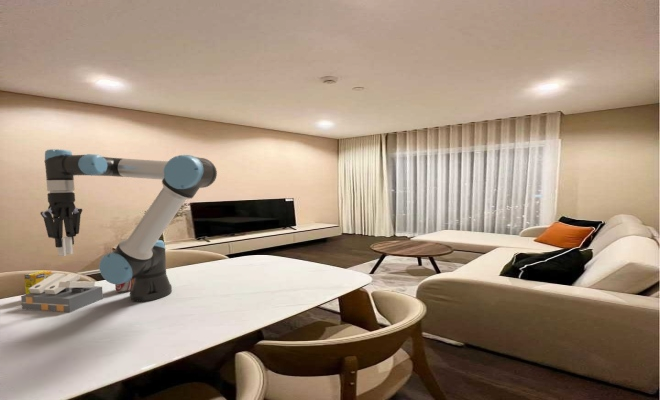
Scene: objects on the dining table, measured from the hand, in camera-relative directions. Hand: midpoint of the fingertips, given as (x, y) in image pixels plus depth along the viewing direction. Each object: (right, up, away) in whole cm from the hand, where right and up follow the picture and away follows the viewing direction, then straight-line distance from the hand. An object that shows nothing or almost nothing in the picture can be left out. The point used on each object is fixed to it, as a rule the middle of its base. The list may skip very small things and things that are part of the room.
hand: (65, 254), depth 112 cm
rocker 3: (+1, -12, +4) cm, 13 cm away
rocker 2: (-6, -12, +5) cm, 15 cm away
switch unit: (-6, -20, +6) cm, 22 cm away
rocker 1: (-13, -12, +7) cm, 19 cm away
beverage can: (+9, -19, +20) cm, 30 cm away
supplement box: (-21, -21, +12) cm, 32 cm away
